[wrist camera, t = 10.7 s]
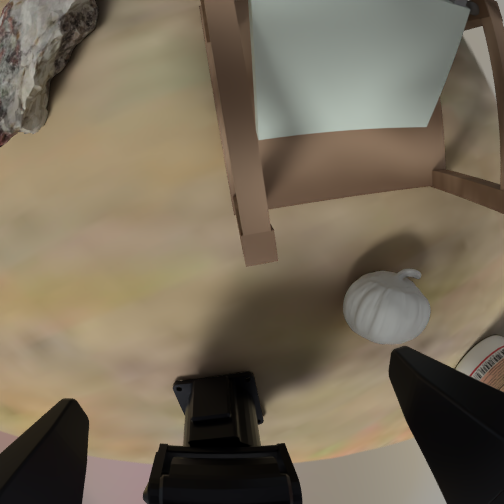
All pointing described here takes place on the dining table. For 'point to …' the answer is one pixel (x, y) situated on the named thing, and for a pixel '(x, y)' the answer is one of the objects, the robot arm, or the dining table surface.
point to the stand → (326, 139)
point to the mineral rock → (36, 56)
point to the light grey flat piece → (350, 62)
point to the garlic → (386, 307)
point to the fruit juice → (486, 362)
